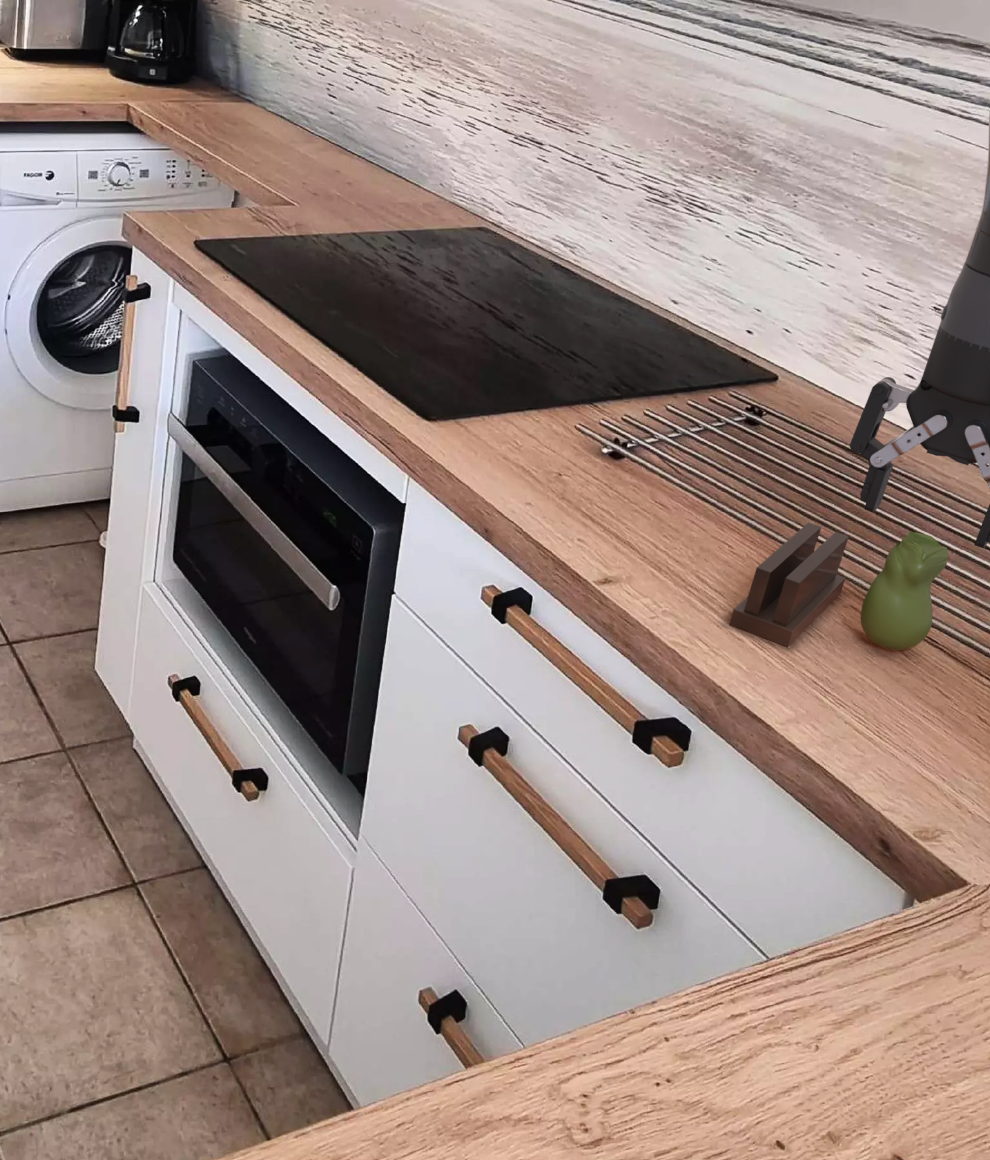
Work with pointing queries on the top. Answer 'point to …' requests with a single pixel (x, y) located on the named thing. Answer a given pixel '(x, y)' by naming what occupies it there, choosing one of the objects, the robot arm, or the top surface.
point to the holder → (792, 587)
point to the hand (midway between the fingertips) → (925, 526)
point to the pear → (903, 593)
